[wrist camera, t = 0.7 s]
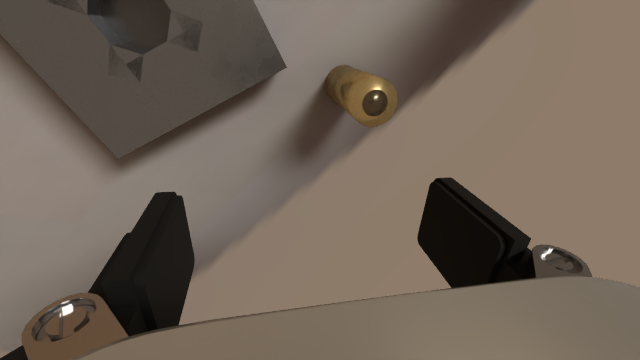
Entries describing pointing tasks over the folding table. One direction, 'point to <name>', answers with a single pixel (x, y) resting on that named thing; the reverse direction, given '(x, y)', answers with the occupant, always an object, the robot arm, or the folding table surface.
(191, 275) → the robot arm
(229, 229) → the folding table surface
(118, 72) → the jig
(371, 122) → the brass cylinder
